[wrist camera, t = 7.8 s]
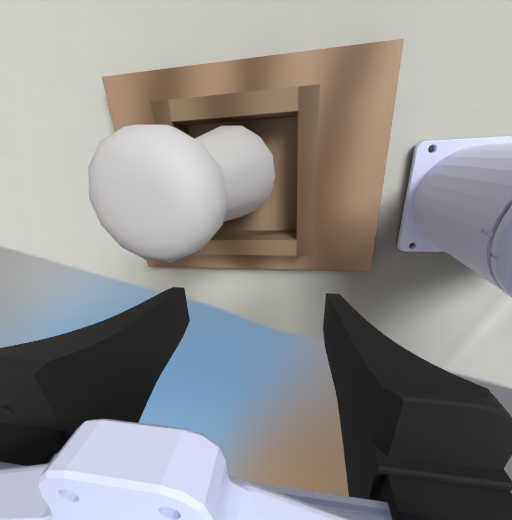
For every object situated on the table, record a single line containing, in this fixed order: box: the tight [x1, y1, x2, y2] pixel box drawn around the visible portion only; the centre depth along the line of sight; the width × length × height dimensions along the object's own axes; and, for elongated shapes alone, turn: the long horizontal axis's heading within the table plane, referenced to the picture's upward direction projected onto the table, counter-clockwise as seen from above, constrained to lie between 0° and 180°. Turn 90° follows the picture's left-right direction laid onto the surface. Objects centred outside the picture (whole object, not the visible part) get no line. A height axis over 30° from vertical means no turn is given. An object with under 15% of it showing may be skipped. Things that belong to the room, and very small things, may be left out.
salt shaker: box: [89, 124, 275, 262], centre depth 13 cm, size 6×6×13 cm
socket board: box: [102, 39, 404, 271], centre depth 18 cm, size 20×15×4 cm
